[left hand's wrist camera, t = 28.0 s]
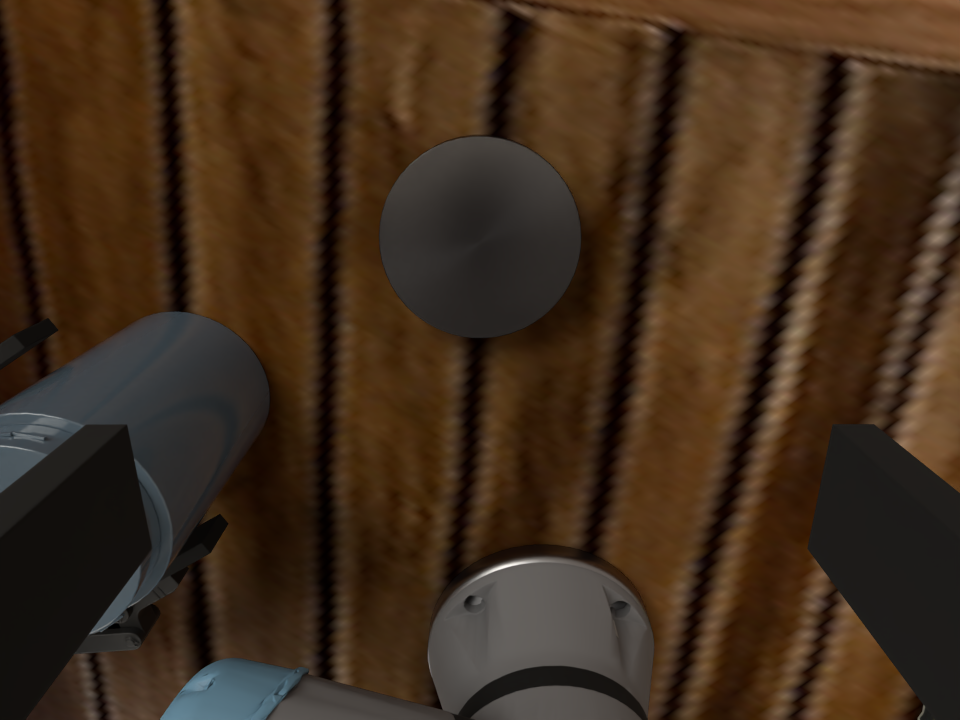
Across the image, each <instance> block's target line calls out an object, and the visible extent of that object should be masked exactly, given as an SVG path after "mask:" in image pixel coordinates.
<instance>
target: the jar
mask: <svg viewBox="0 0 960 720" xmlns="http://www.w3.org/2000/svg"><path fill="white" fill-rule="evenodd" d="M269 406H270V392H269V386H268V381H267V378H266V375H265V372H264V370H263V368H262V365H261V363H260V362H259V360H258V358H257V357H256V355H255V354H254V352H253V351H252V350H251V348H250V347H249V346H248V345H247V344H246V343H245V342H244V341H243V340H242V339H241V338H240V337H239V336H238V335H236V334H235V333H234V332H233V331H231V330H230V329H228V328H227V327H225V326H223V325H222V324H220V323H218V322H216V321H214V320H212V319H209V318H206V317H203V316H200V315H196V314H191V313H185V312H163V313H157V314H152V315H149V316H146V317H143V318H141V319H139V320H137V321H135V322H133V323H132V324H130V325H128V326H127V327H125V328H123V329H122V330H120V331H119V332H117V333H115V334H114V335H112V336H110V337H109V338H107V339H106V340H104V341H102V342H101V343H99V344H98V345H96V346H94V347H93V348H91V349H89V350H88V351H86V352H85V353H83V354H81V355H80V356H78V357H76V358H75V359H73V360H72V361H70V362H68V363H67V364H65V365H63V366H62V367H60V368H59V369H57V370H55V371H54V372H52V373H50V374H49V375H47V376H46V377H44V378H42V379H41V380H39V381H38V382H36V383H34V384H33V385H31V386H29V387H28V388H26V389H25V390H23V391H21V392H20V393H18V394H16V395H15V396H13V397H12V398H10V399H8V400H7V401H5V402H3V403H2V404H0V493H1V492H2V491H4V490H5V489H6V488H7V487H9V486H10V485H11V484H12V483H14V482H15V481H16V480H17V479H19V478H20V477H21V476H22V475H24V474H25V473H26V472H27V471H29V470H30V469H31V468H32V467H34V466H35V465H36V464H37V463H39V462H40V461H41V460H42V459H44V458H45V457H46V456H47V455H49V454H50V453H51V452H52V451H54V450H55V449H56V448H57V447H58V446H60V445H61V444H62V443H63V442H65V441H66V440H67V439H68V438H70V437H71V436H72V435H73V434H75V433H76V432H77V431H78V430H80V429H81V428H82V427H83V426H85V425H86V424H127V426H128V431H129V436H130V441H131V446H132V451H133V456H134V460H135V465H136V470H137V475H138V480H139V485H140V490H141V495H142V500H143V505H144V510H145V515H146V519H147V524H148V529H149V534H150V539H151V544H152V550H151V551H150V553H149V554H148V555H147V557H146V558H145V559H144V561H143V562H142V563H141V565H140V566H139V567H138V569H137V570H136V572H135V573H134V574H133V576H132V577H131V578H130V580H129V581H128V582H127V584H126V585H125V586H124V588H123V589H122V590H121V592H120V593H119V594H118V596H117V597H116V598H115V600H114V601H113V602H112V604H111V605H110V606H109V608H108V609H107V610H106V612H105V613H104V615H103V616H102V617H101V619H100V620H99V621H98V623H97V624H96V625H95V627H94V628H93V629H92V631H91V632H90V633H89V635H90V634H93V633H96V632H99V631H100V632H102V631H103V630H105V629H106V628H108V627H109V626H111V625H112V624H114V623H115V622H117V621H118V620H120V619H121V618H122V617H124V615H125V614H124V613H123V612H124V611H125V610H126V609H127V608H128V607H130V606H132V605H134V604H135V603H137V602H139V601H140V600H141V599H143V598H144V597H145V596H147V595H148V594H149V593H150V592H151V591H152V590H153V589H154V588H155V587H156V586H157V584H158V583H159V581H160V580H161V579H162V577H163V576H164V574H165V573H166V571H167V570H168V568H169V567H170V565H171V564H172V562H173V561H174V559H175V558H176V556H177V555H178V553H179V552H180V550H181V549H182V548H183V546H184V545H185V543H186V542H187V540H188V539H189V537H190V536H191V534H192V533H193V531H194V530H195V528H196V527H197V525H198V524H199V522H200V521H201V520H202V518H203V517H204V515H205V514H206V512H207V511H208V509H209V508H210V506H211V505H212V503H213V502H214V500H215V499H216V497H217V496H218V494H219V493H220V491H221V490H222V489H223V487H224V486H225V484H226V483H227V481H228V480H229V478H230V477H231V475H232V474H233V472H234V471H235V469H236V468H237V466H238V465H239V463H240V462H241V460H242V459H243V458H244V456H245V455H246V453H247V452H248V450H249V449H250V447H251V446H252V444H253V443H254V441H255V440H256V438H257V437H258V435H259V434H260V432H261V431H262V429H263V427H264V425H265V423H266V420H267V416H268V413H269Z"/></svg>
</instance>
